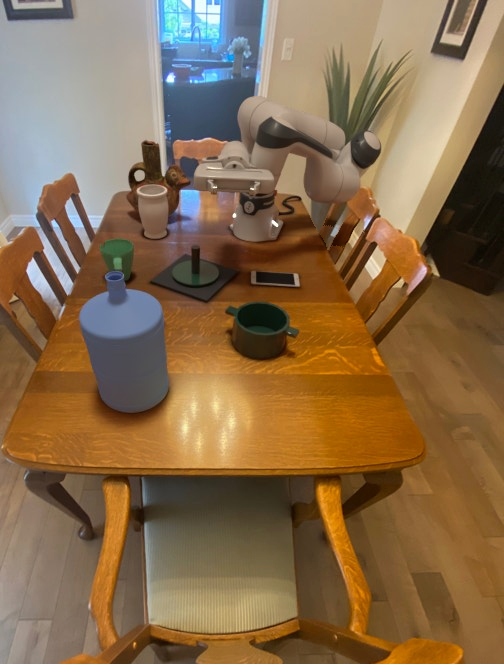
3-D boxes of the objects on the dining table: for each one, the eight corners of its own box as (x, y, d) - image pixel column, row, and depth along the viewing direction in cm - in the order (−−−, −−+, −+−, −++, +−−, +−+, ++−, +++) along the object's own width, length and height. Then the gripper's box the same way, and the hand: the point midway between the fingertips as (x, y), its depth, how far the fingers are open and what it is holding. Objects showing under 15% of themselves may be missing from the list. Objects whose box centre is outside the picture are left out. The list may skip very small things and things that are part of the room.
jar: (165, 242, 130) (162, 197, 119) (137, 239, 131) (132, 194, 120) (172, 229, 137) (170, 185, 126) (146, 226, 138) (142, 182, 127)
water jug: (159, 419, 77) (146, 307, 56) (89, 409, 79) (50, 296, 58) (176, 369, 87) (170, 258, 66) (113, 360, 89) (88, 249, 68)
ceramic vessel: (185, 230, 136) (184, 152, 118) (120, 222, 140) (108, 145, 121) (196, 212, 147) (196, 138, 129) (135, 205, 151) (127, 132, 132)
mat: (185, 256, 124) (185, 253, 123) (237, 272, 117) (238, 270, 117) (150, 283, 112) (150, 280, 112) (206, 302, 106) (206, 300, 105)
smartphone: (251, 270, 117) (298, 273, 116) (250, 272, 117) (297, 275, 117) (251, 282, 112) (300, 286, 111) (250, 284, 112) (299, 287, 112)
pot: (237, 316, 102) (239, 292, 96) (301, 339, 96) (308, 315, 90) (213, 343, 94) (214, 319, 88) (281, 370, 88) (287, 346, 82)
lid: (188, 259, 121) (187, 231, 114) (227, 271, 116) (229, 243, 109) (163, 279, 112) (161, 250, 105) (203, 293, 108) (204, 264, 101)
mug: (105, 270, 117) (99, 239, 109) (136, 268, 118) (132, 237, 110) (106, 296, 107) (99, 264, 100) (139, 293, 108) (135, 261, 101)
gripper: (270, 187, 99) (274, 207, 90) (196, 184, 100) (192, 203, 91) (274, 160, 95) (278, 179, 85) (196, 157, 95) (191, 175, 86)
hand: (233, 192), depth 88 cm, fingers open, 8 cm apart
